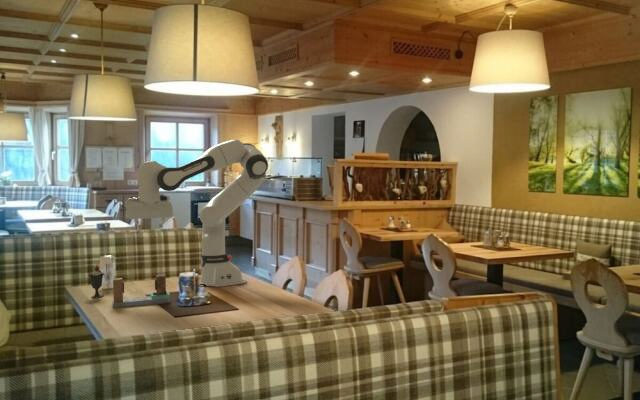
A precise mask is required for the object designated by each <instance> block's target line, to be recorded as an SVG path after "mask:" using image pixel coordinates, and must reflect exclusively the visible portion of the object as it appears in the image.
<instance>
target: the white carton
mask: <svg viewBox="0 0 640 400" xmlns="http://www.w3.org/2000/svg"><path fill="white" fill-rule="evenodd" d="M99 269H100V270H101V272H103V273H104V275H103V278H102V286H101V289H102V290H110V289H111V288H112V289H113V279H114V278H115V273H116V257H115V255H114V254H113V255H110V254H109V255H100V256H99Z"/></svg>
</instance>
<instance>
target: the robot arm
mask: <svg viewBox="0 0 640 400" xmlns="http://www.w3.org/2000/svg"><path fill="white" fill-rule="evenodd" d="M233 164H240V166H241V168H243V170H242V171H241V173H240V174H239V175H237V176H236V178H234V180H232V181H231V182H230V183H229V184H228V185H226V187H224V188H223V189H222V190H221V191H220V192H219V193H217V194H216V195H215V196H214V197H213V198H212V199H210V201H208V202H207V203H206V204H204V205H203V206H202V207H201V209H200V210H199V219H200V221H201V223H202V228H201V229H202V232H201V256H200V264H201V275H200V280H199V283H200V282H201V283H204V284H205V285H206V287H217V288H219V287H225V286H226V287H227V286H232V285H233V286H235V285H242V284H246V283H247V282H248V281H247V279H246V278H245V277H243V276H242V271H241V269H240V268H239V267H238V266H237V265H235V264H234V263H232V262H231V260H232V259H233V257H232V255H230V254H227V253H226V218H228V217H229V216H230V215H231V214H232V213H233V212H235V210H237V208H239V207H240V206H241V205H242V204H244V202H246V200H248V199H249V198H250V197H251V196H252V195H253V194H255V192H256V191H257V190H258V189H259V188H260V187H261V185H262V183H263V181H264V175H265V174H266V173H267V171H268V168H269V162H268V160H267V157H266V156H265V155H264V154H263V152H262V151H261V150H260V149H258V148H257V147H256V146H255V145H254V144H252V143H246V142H245V143H244V142H242V141H241V140H239V139H230V140H225V141H223V142H221V143H218V144H216V145H215V144H214V146H212V147H209V148H208V149H206V150H205V151H203V153H201V155H200V156H199V157H198V158H196V159H194V160H192V161H190V162H188V163H185V164H183V165H181V166H177V167H167V166H165V165H162V163H159V162H158V161H157V160H149V161H145V162H142V163H141V164H139V167H138V171H137V172H138V173H137V179H138V180H137V181H138V187H139V188H138V197H128V198H127V199H125V200H124V207H125V208H126V209H125V218H126V219H127V220H134V223H135V224H136V229H137V230H141V229H142V228H141V224H139V223H138V222H139V220H142V219H144V220H145V219H160V220H161V223H159V224H158V225H159V227H158V228H159V229H163V227H164V225H163V224H164V223H165V221H166V218H167V219H168V218H169V219H170V218H172V217H173V216H174V210H173V209H174V208H173V205H172V203H171V202H170V199H171V198H170V196H168V195H165V194H163V193H160V189H162V190H163V191H166V192H172V191H175V190H177V189H178V188H180V186H181V185H182V184H183V183H184V182H186V180H189V179H191V178H194V177H196V176H198V175H200V174H202V173H206V172H207V173H208V172H216V171H219V170H223V169H225V168H227V167H229V166H231V165H233Z"/></svg>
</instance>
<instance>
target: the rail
mask: <svg viewBox="0 0 640 400" xmlns="http://www.w3.org/2000/svg"><path fill="white" fill-rule="evenodd" d="M112 289H113V290H112V292H113V294H112V295H113V299H112V308H113V309H117V308H129V307H131V308H132V307H139V306H149V305H162V304H171V294H170V292H169V291H168V290H166V294H164V295H157V291H155V292H154V291H153V292H150V294H149V296H139V297H126V298H124V293H125V281H124V280H123V278H122V277H118V278H117V277H116V278H115V277H114V279H113V288H112Z"/></svg>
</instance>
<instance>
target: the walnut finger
mask: <svg viewBox="0 0 640 400" xmlns="http://www.w3.org/2000/svg"><path fill="white" fill-rule="evenodd" d="M166 285H167V283H166V275H165V274H155V278H154V291H155V292H157V295H164V294H166V291H167V286H166Z"/></svg>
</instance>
